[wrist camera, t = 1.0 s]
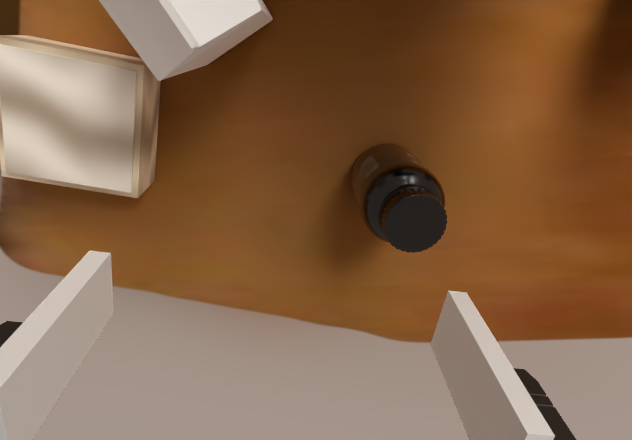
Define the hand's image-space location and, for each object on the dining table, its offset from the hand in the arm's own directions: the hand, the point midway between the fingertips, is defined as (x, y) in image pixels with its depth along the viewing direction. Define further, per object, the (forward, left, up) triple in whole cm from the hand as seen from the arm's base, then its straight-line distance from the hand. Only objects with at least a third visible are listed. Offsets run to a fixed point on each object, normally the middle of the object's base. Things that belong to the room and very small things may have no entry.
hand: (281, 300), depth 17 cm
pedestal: (0, -18, -26) cm, 32 cm away
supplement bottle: (+1, +10, -27) cm, 28 cm away
